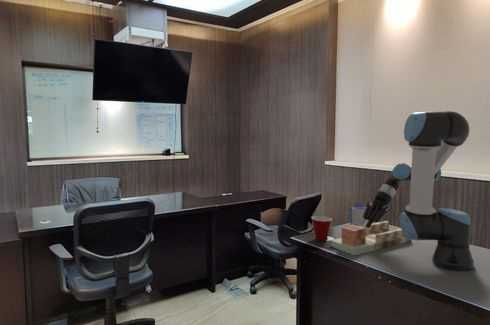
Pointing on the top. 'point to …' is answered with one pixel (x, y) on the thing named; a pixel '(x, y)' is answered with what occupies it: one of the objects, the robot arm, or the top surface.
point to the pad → (352, 247)
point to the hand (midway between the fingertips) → (362, 231)
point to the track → (384, 235)
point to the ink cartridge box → (357, 215)
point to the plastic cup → (321, 227)
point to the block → (353, 235)
